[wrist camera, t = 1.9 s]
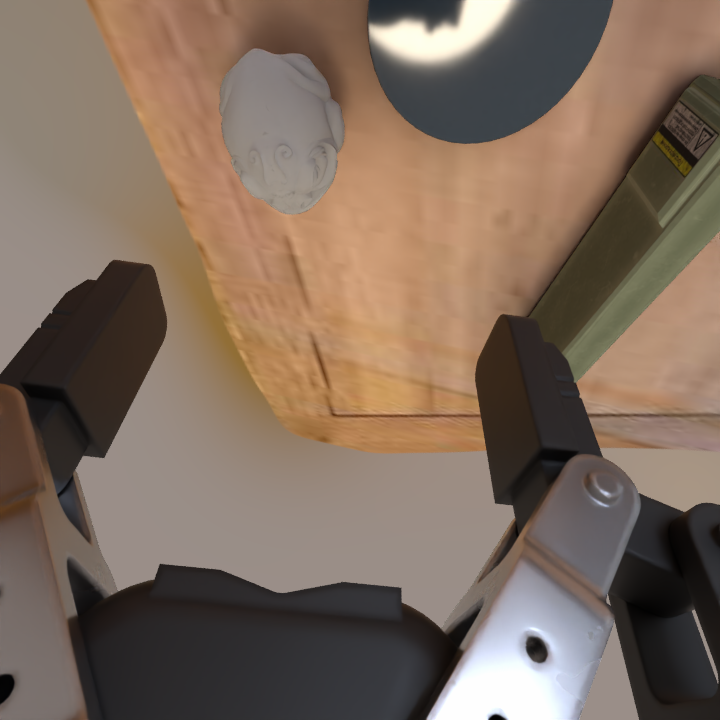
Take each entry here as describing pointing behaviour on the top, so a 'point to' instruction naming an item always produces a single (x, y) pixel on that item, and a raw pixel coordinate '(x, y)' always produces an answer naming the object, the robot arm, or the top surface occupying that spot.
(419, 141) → the top surface
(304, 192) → the white stone carving
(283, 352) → the top surface
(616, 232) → the handheld radio
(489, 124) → the coaster
